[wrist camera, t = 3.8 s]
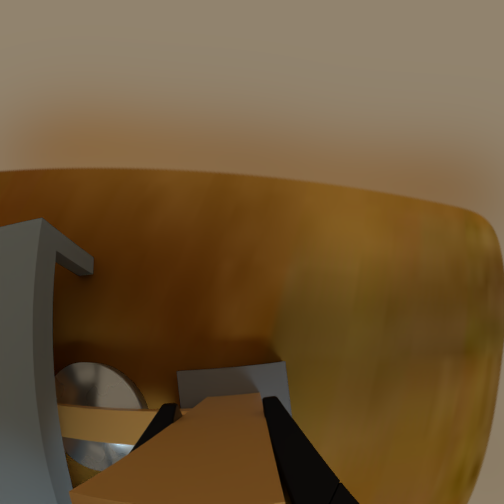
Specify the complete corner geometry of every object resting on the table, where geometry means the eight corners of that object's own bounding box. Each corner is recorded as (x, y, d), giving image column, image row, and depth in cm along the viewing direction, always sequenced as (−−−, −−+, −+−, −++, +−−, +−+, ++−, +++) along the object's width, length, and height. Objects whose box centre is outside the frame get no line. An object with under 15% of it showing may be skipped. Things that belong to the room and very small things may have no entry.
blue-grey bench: (93, 257, 17) (42, 217, 11) (129, 546, 11) (93, 591, 6) (2, 269, 16) (-51, 240, 11) (28, 518, 10) (-18, 541, 5)
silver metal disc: (173, 410, 14) (166, 414, 13) (119, 483, 13) (110, 491, 11) (90, 341, 15) (77, 338, 14) (45, 414, 14) (32, 416, 12)
